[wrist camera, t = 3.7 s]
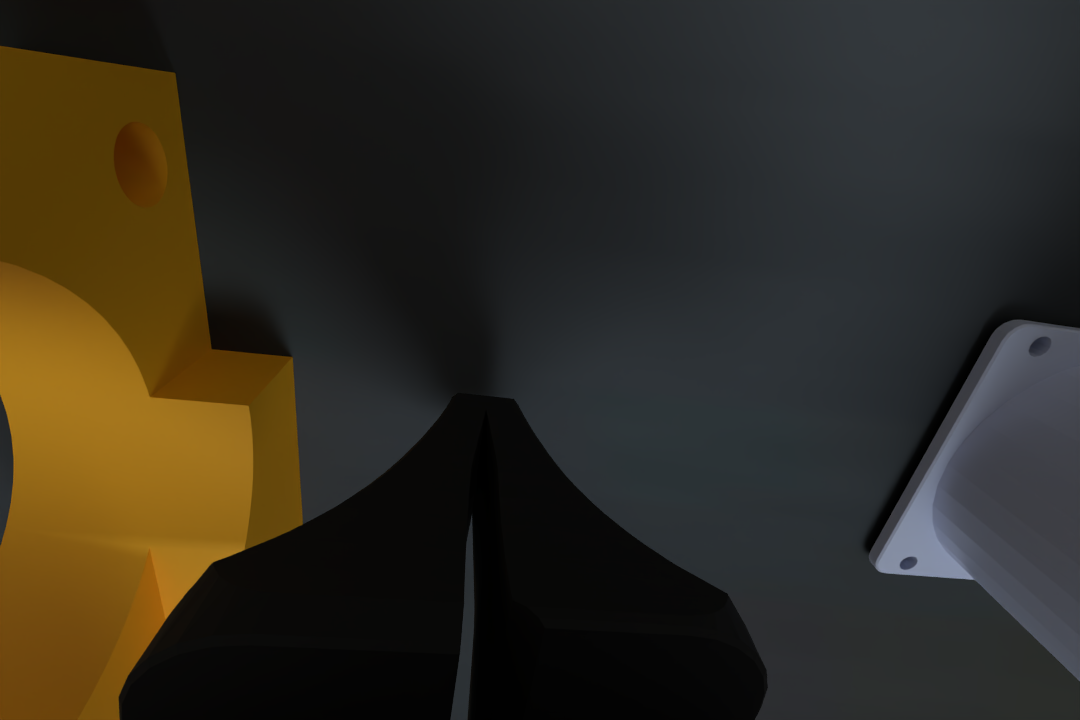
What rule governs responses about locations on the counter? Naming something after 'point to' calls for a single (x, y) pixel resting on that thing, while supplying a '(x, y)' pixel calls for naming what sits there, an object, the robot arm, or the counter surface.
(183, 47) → the counter surface
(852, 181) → the counter surface
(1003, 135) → the counter surface
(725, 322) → the counter surface
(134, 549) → the pipe clamp
